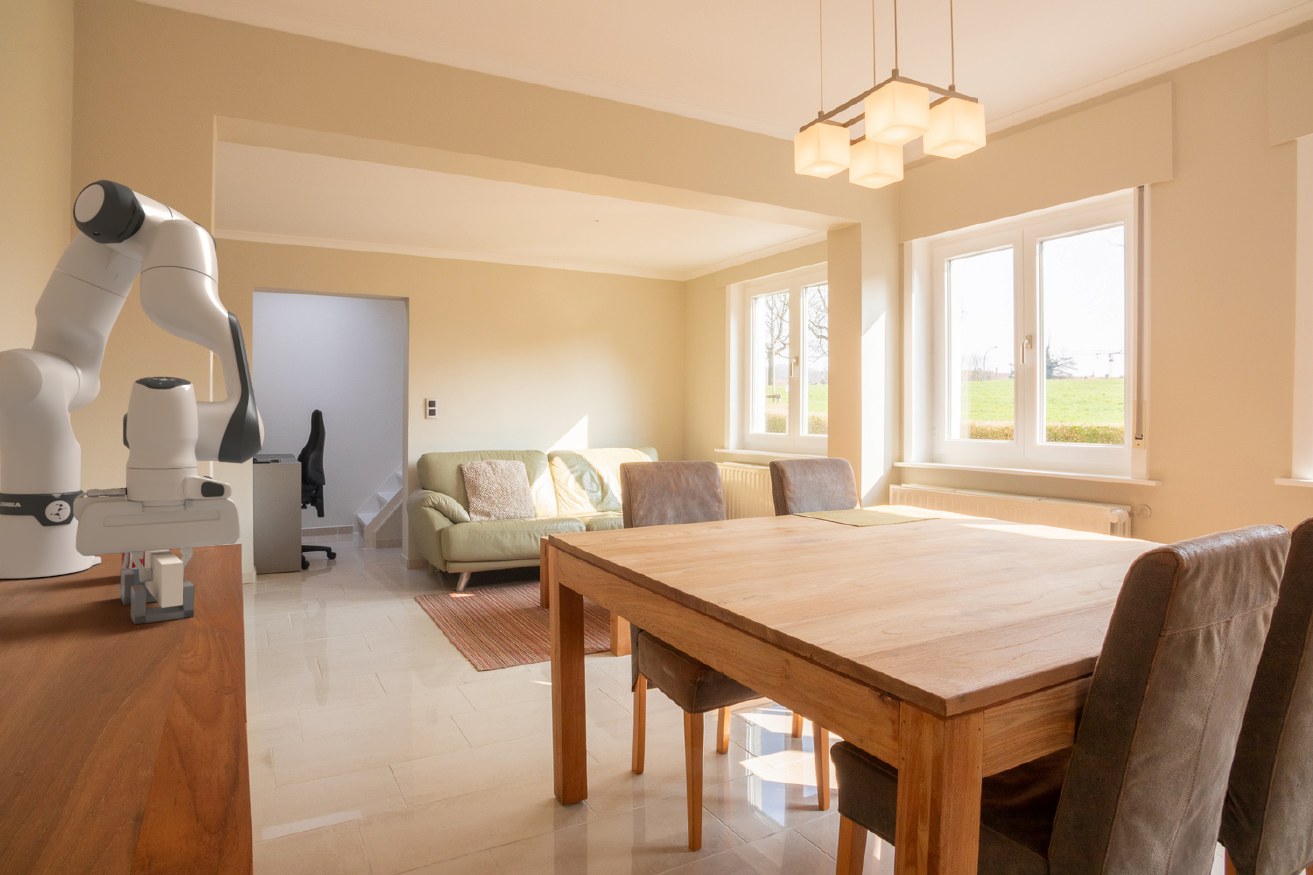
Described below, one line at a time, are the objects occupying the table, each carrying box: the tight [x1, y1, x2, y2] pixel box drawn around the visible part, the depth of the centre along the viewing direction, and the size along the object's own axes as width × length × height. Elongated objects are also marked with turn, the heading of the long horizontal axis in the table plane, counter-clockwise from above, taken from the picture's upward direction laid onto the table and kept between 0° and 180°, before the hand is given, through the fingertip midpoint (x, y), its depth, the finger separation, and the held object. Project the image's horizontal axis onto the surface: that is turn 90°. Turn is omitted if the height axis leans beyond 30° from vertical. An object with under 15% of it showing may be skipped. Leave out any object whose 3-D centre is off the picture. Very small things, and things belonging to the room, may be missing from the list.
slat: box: [145, 549, 184, 608], centre depth 109 cm, size 16×2×6 cm, turn 42°
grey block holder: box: [119, 567, 195, 625], centre depth 111 cm, size 18×7×4 cm, turn 41°
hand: (161, 579), depth 110 cm, fingers closed on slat, 2 cm apart
